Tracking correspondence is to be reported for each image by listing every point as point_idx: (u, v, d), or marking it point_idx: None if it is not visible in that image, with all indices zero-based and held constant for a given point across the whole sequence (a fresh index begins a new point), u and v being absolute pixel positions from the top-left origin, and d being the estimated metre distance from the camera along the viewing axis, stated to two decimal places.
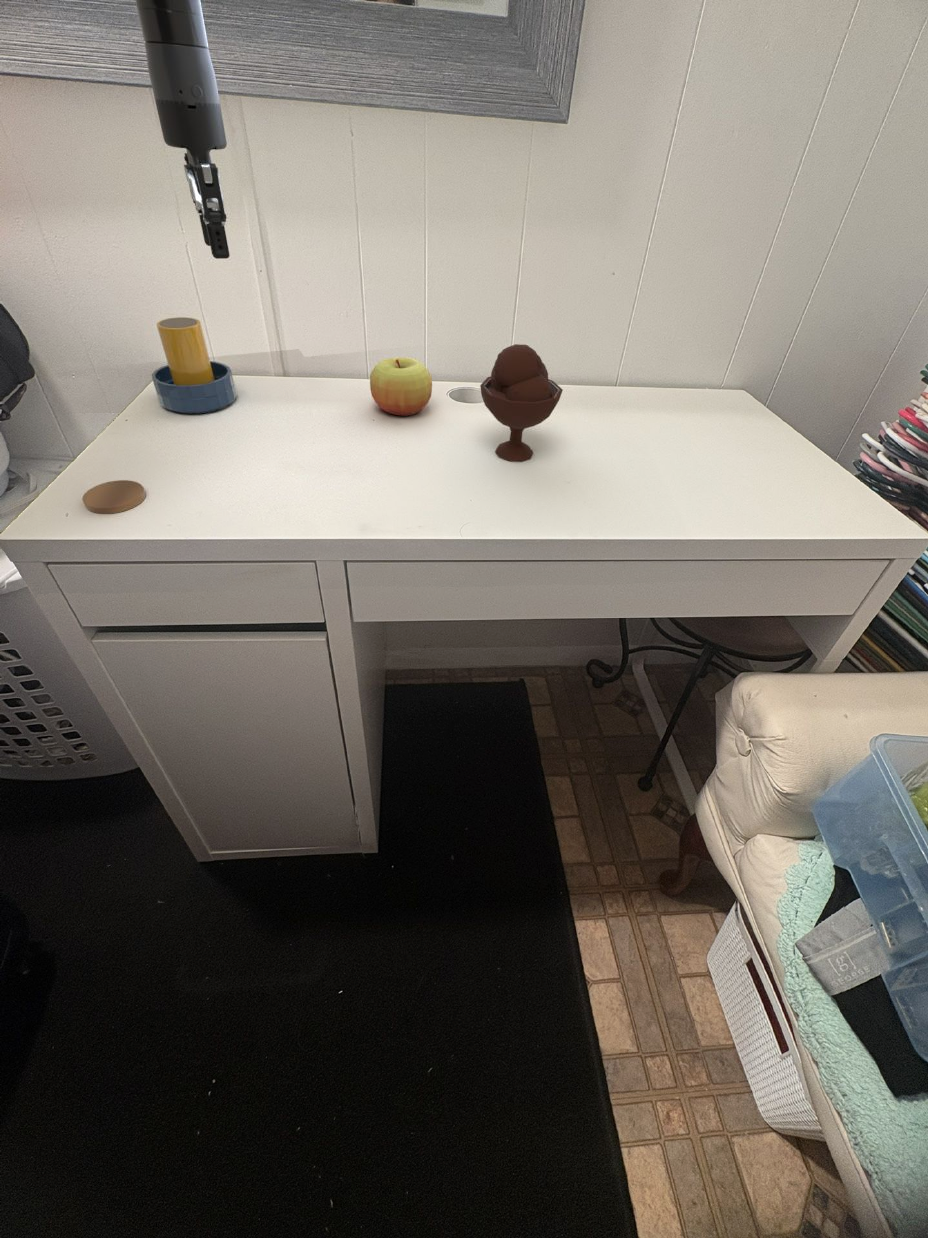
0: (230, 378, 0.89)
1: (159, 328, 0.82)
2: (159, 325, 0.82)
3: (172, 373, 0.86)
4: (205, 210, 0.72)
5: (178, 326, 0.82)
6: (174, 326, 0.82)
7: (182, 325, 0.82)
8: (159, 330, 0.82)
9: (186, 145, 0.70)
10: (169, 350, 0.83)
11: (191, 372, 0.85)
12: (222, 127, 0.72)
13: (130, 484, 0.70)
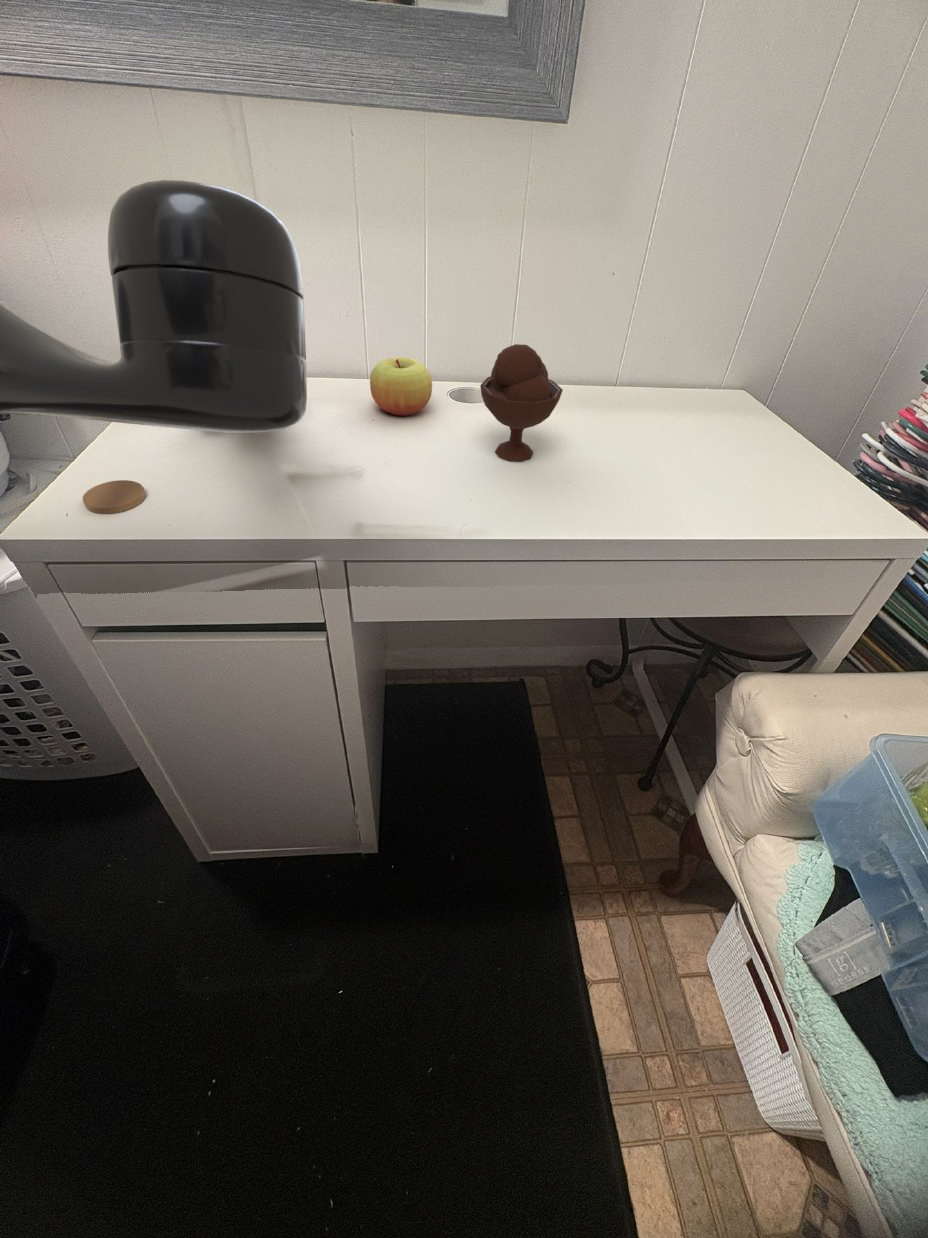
0: None
1: None
2: None
3: None
4: None
5: None
6: None
7: None
8: None
9: None
10: None
11: None
12: None
13: (130, 484, 0.70)
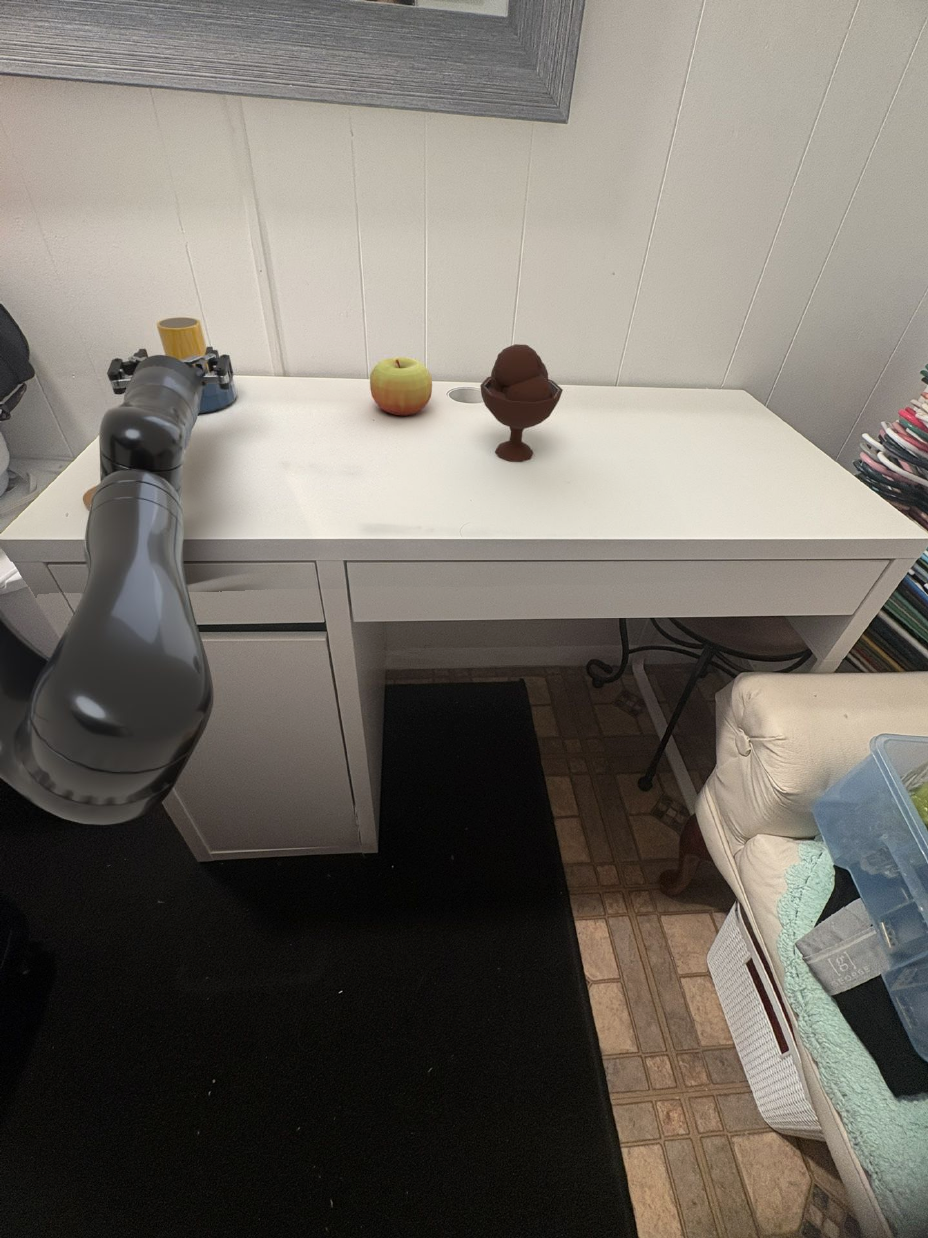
0: None
1: (159, 328, 0.82)
2: (159, 325, 0.82)
3: None
4: None
5: (178, 326, 0.82)
6: (174, 326, 0.82)
7: (182, 325, 0.82)
8: (159, 330, 0.82)
9: None
10: (169, 350, 0.83)
11: None
12: None
13: None
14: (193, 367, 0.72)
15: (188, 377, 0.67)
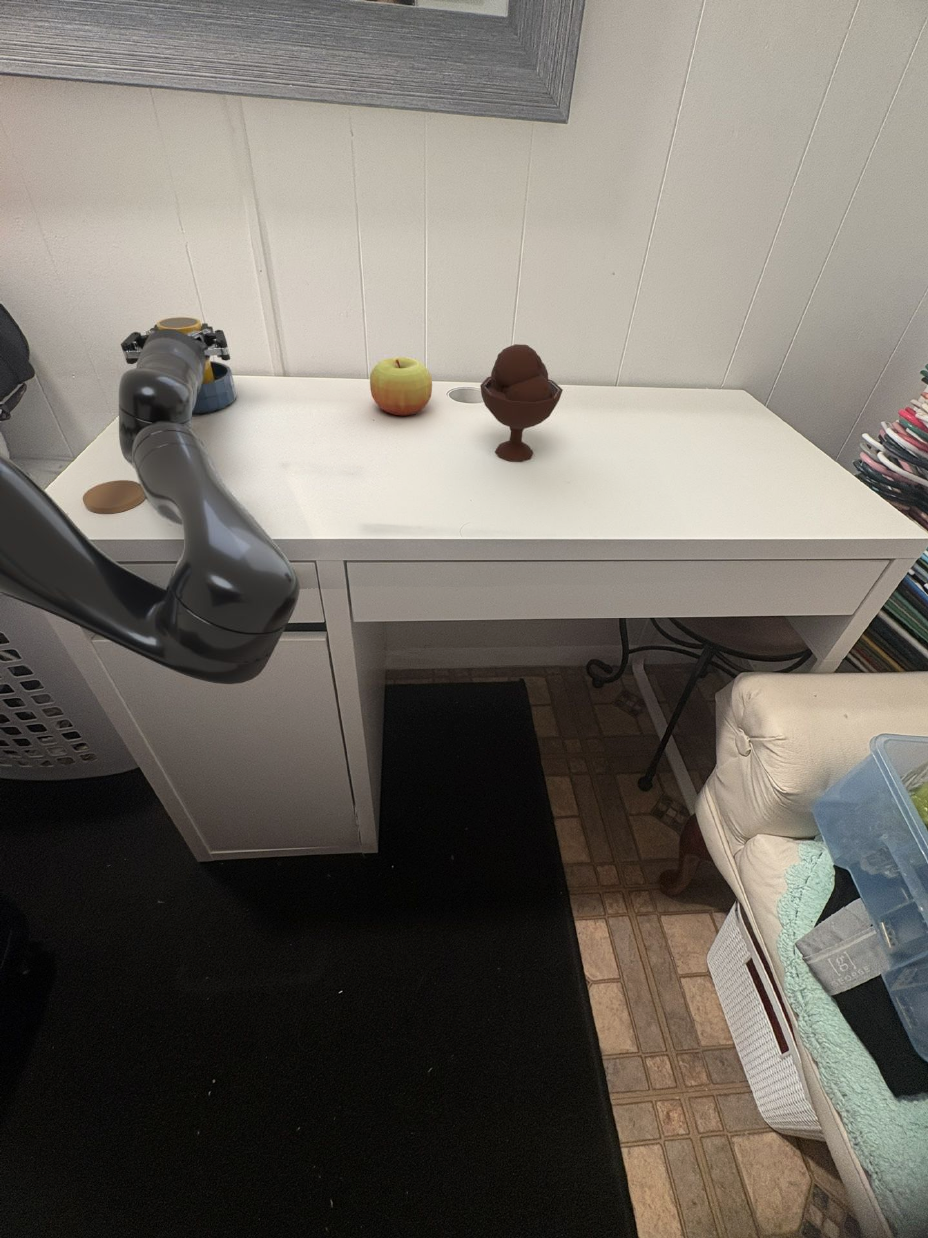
0: (230, 378, 0.89)
1: (159, 328, 0.82)
2: (159, 325, 0.82)
3: None
4: (130, 335, 0.80)
5: (178, 326, 0.82)
6: (174, 326, 0.82)
7: (182, 325, 0.82)
8: None
9: None
10: None
11: None
12: None
13: (130, 484, 0.70)
14: (197, 341, 0.79)
15: (193, 348, 0.74)
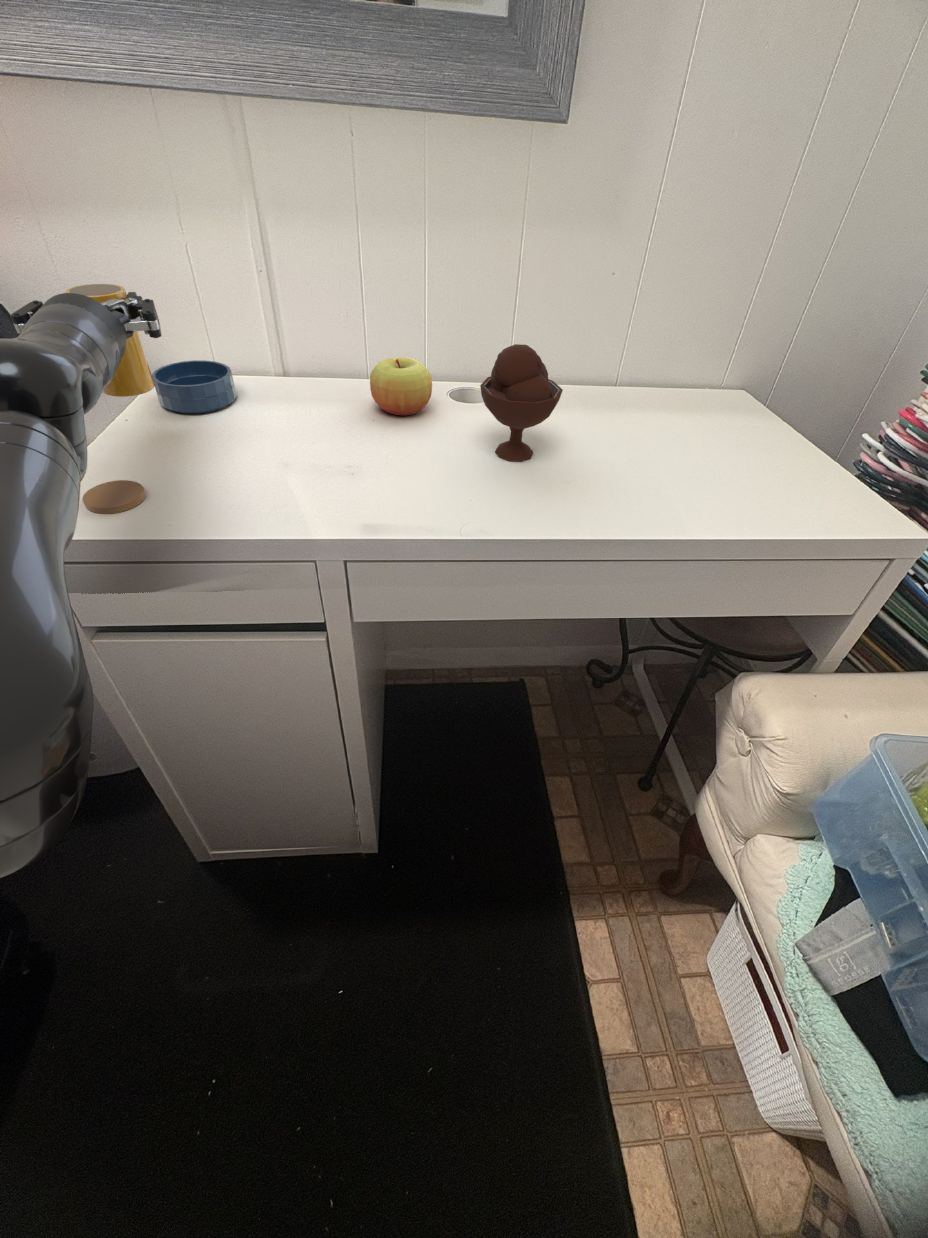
0: (230, 378, 0.89)
1: None
2: (68, 292, 0.63)
3: None
4: None
5: (93, 293, 0.63)
6: (88, 293, 0.63)
7: (99, 292, 0.63)
8: None
9: None
10: None
11: None
12: None
13: (130, 484, 0.70)
14: (116, 312, 0.61)
15: (104, 319, 0.56)
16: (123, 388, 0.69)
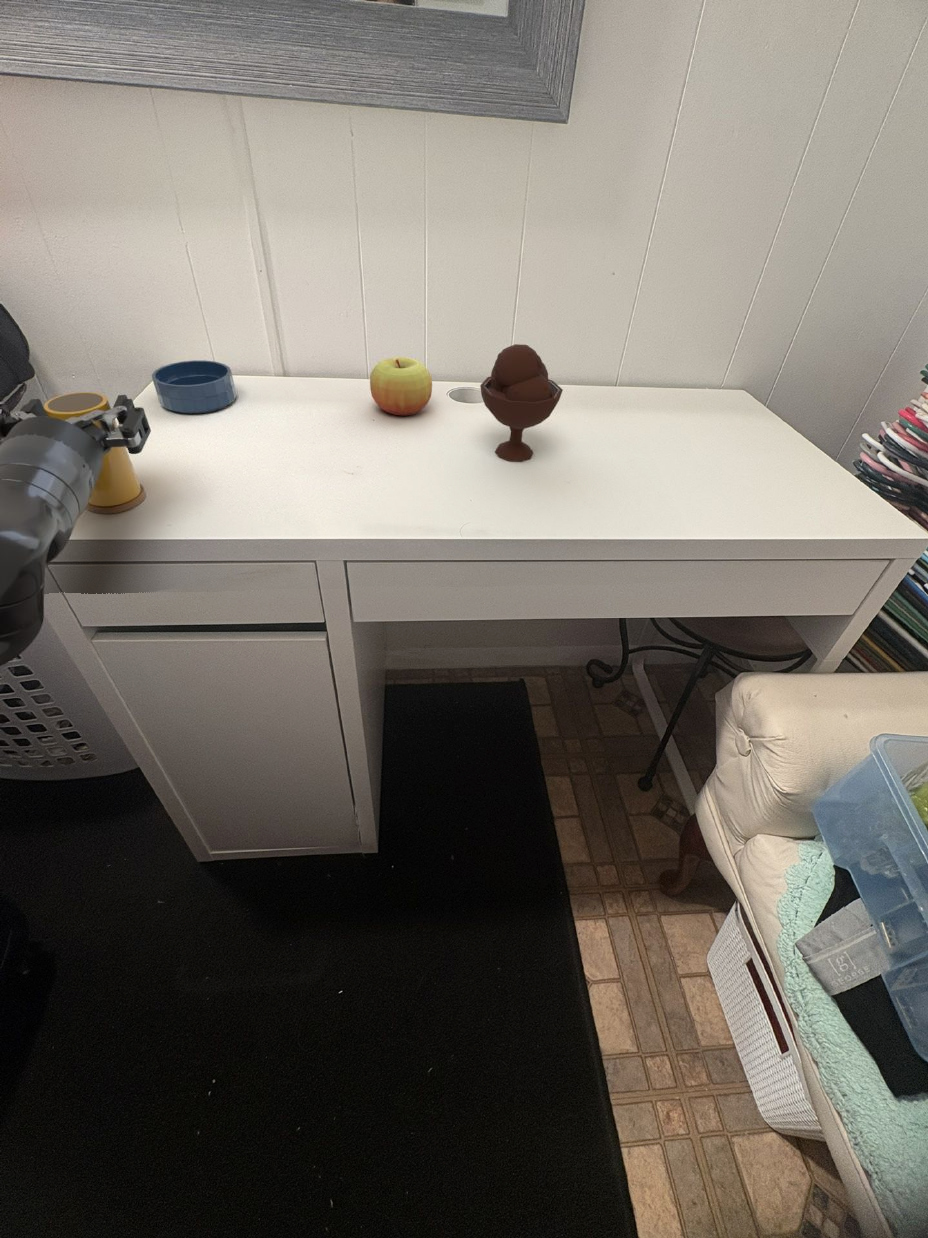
0: (230, 378, 0.89)
1: (46, 412, 0.59)
2: (47, 407, 0.59)
3: None
4: None
5: (73, 409, 0.59)
6: (67, 409, 0.59)
7: (79, 407, 0.60)
8: (47, 414, 0.59)
9: None
10: None
11: None
12: None
13: None
14: (92, 427, 0.56)
15: (76, 446, 0.51)
16: (107, 498, 0.65)
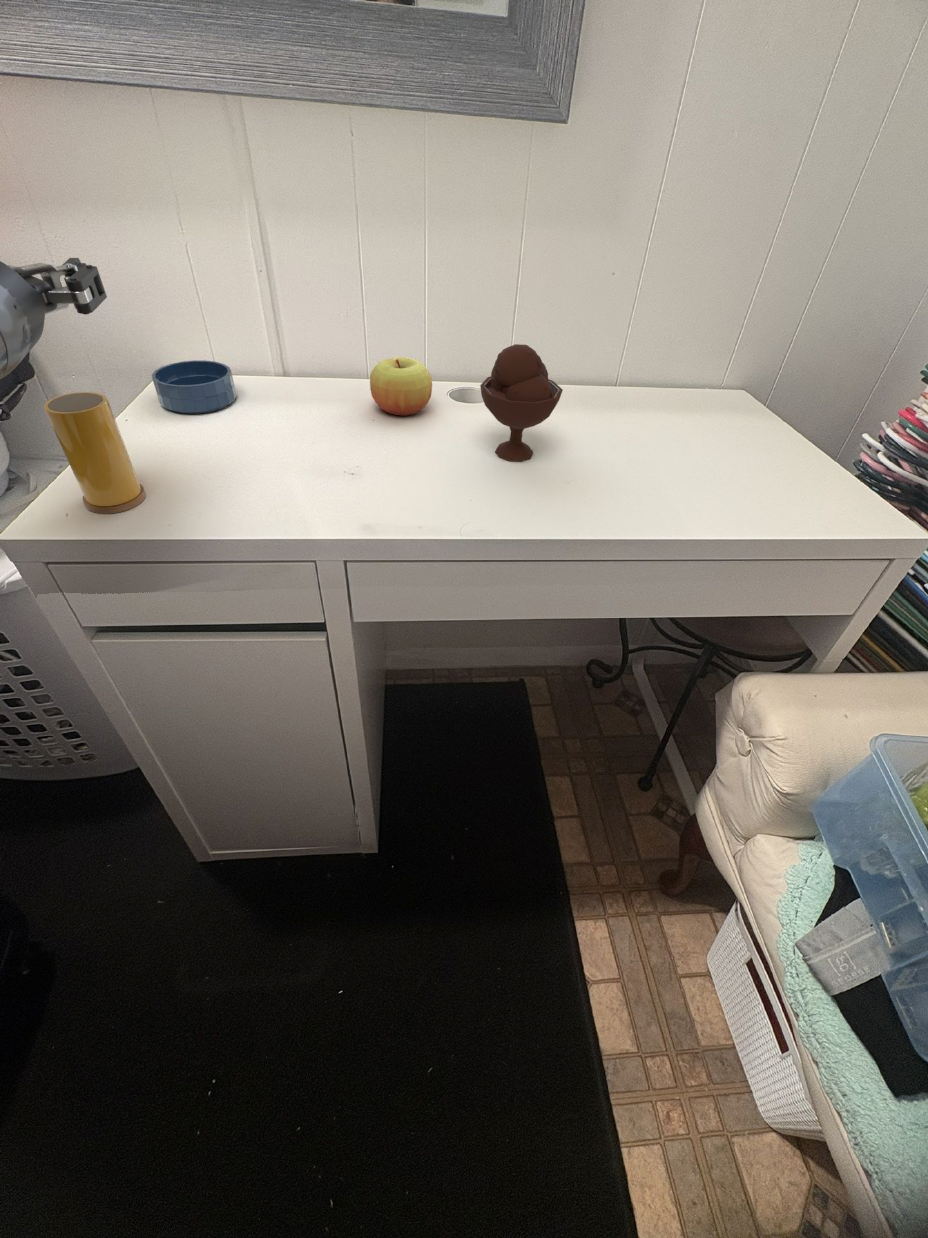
0: (230, 378, 0.89)
1: (46, 412, 0.59)
2: (47, 407, 0.59)
3: (72, 468, 0.63)
4: None
5: (73, 409, 0.59)
6: (67, 409, 0.59)
7: (79, 407, 0.60)
8: (47, 414, 0.59)
9: None
10: (63, 439, 0.60)
11: (97, 467, 0.63)
12: None
13: None
14: (33, 278, 0.48)
15: (7, 284, 0.43)
16: (107, 498, 0.65)
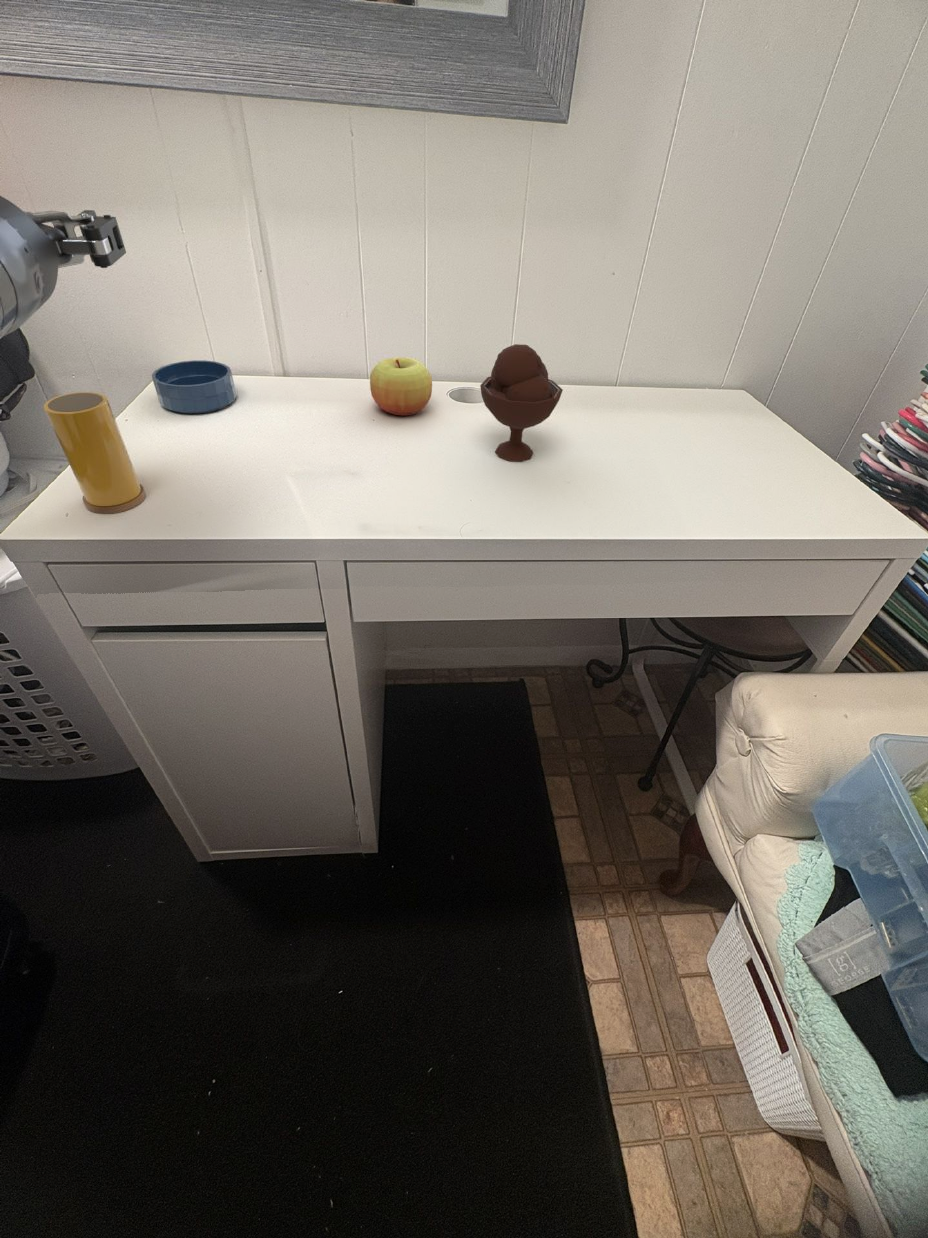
0: (230, 378, 0.89)
1: (46, 412, 0.59)
2: (47, 407, 0.59)
3: (72, 468, 0.63)
4: None
5: (73, 409, 0.59)
6: (67, 409, 0.59)
7: (79, 407, 0.60)
8: (47, 414, 0.59)
9: None
10: (63, 439, 0.60)
11: (97, 467, 0.63)
12: None
13: None
14: (45, 226, 0.42)
15: (17, 225, 0.37)
16: (107, 498, 0.65)
